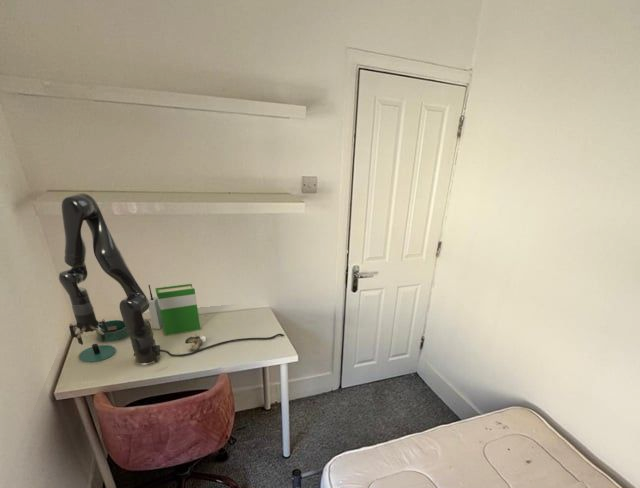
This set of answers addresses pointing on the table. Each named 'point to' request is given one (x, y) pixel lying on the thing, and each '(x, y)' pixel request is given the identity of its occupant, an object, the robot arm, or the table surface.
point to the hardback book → (178, 308)
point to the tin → (116, 335)
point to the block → (112, 329)
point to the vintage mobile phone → (155, 312)
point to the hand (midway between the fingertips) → (93, 342)
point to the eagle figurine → (197, 341)
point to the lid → (97, 353)
